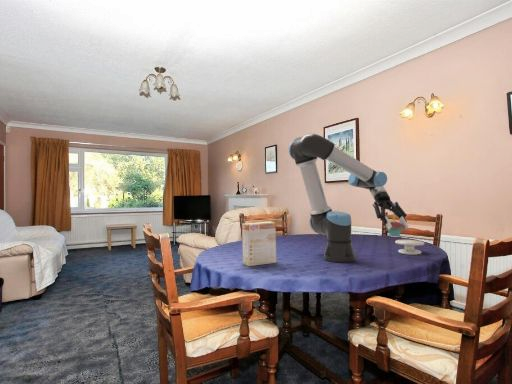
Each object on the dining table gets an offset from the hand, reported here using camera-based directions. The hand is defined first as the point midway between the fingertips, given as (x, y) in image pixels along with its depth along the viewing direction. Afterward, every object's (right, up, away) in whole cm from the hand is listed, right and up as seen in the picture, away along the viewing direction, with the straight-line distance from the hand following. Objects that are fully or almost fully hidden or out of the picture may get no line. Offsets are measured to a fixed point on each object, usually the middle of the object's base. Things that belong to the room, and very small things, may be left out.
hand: (398, 228), depth 150 cm
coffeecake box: (-69, -16, -6) cm, 72 cm away
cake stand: (+12, -15, +13) cm, 23 cm away
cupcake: (0, -4, +3) cm, 6 cm away
